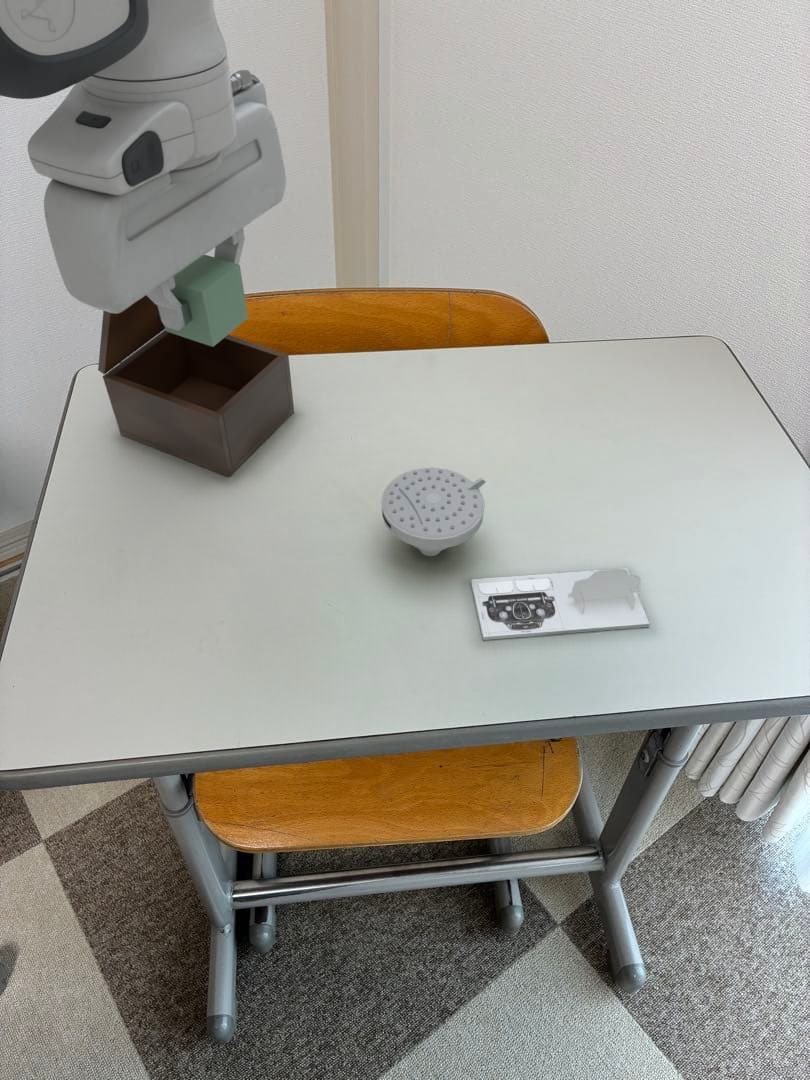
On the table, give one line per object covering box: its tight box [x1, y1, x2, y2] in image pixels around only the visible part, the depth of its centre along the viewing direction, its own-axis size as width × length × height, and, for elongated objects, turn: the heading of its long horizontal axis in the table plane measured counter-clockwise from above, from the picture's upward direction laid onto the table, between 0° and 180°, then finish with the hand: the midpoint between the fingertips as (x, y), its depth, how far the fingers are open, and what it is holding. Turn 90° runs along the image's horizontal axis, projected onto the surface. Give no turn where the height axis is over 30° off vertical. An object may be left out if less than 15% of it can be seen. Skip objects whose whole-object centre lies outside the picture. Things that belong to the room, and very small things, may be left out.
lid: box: [97, 295, 165, 375], centre depth 80 cm, size 15×13×5 cm
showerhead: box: [381, 467, 486, 557], centre depth 75 cm, size 9×7×10 cm
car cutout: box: [470, 567, 651, 641], centre depth 71 cm, size 15×7×4 cm, turn 96°
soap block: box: [164, 254, 249, 347], centre depth 60 cm, size 4×4×4 cm
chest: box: [102, 330, 295, 478], centre depth 87 cm, size 15×13×8 cm
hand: (202, 305), depth 60 cm, fingers closed on soap block, 4 cm apart
